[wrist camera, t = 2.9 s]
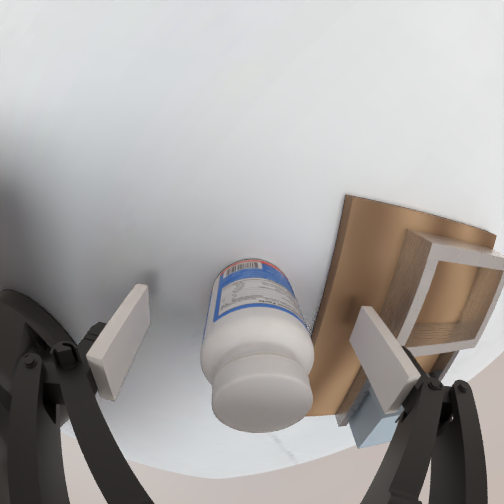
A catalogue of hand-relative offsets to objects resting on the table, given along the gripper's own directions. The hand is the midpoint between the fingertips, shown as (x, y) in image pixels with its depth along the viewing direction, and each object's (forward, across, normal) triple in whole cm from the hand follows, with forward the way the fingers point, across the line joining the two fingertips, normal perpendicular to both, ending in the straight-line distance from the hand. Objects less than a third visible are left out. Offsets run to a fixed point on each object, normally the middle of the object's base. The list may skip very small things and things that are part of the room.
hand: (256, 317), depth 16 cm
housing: (+2, +15, -10) cm, 18 cm away
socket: (+2, +15, +2) cm, 15 cm away
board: (+3, +13, -2) cm, 13 cm away
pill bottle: (+3, 0, 0) cm, 3 cm away
